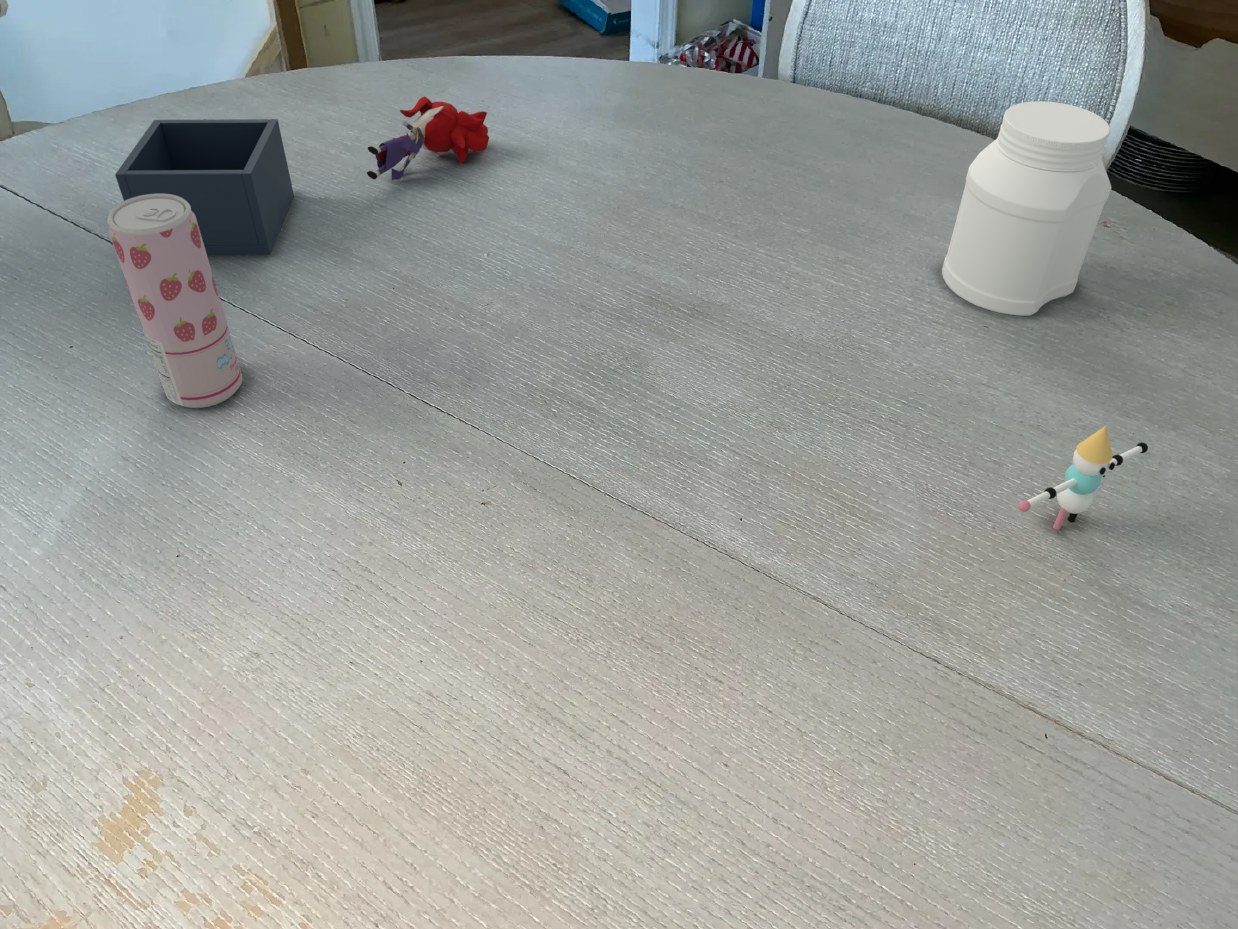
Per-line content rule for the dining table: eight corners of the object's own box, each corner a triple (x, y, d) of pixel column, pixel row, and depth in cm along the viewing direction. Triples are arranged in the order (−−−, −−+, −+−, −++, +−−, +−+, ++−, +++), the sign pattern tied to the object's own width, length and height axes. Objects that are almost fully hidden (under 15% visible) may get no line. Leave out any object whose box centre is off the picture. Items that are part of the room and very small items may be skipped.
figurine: (347, 176, 104) (438, 127, 113) (411, 213, 102) (499, 160, 112) (347, 120, 99) (443, 73, 109) (415, 157, 97) (506, 107, 107)
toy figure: (1017, 569, 65) (1058, 469, 60) (988, 545, 67) (1025, 445, 61) (1139, 505, 70) (1187, 406, 64) (1109, 483, 72) (1154, 386, 66)
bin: (142, 256, 93) (114, 174, 87) (177, 196, 101) (154, 119, 96) (270, 254, 93) (250, 173, 88) (294, 196, 102) (277, 118, 97)
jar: (1012, 326, 86) (1067, 160, 76) (923, 278, 92) (964, 118, 82) (1089, 284, 92) (1150, 123, 82) (1001, 241, 97) (1048, 86, 87)
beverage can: (244, 403, 77) (192, 225, 67) (164, 416, 76) (99, 236, 66) (243, 361, 81) (193, 187, 71) (167, 372, 80) (106, 196, 70)
